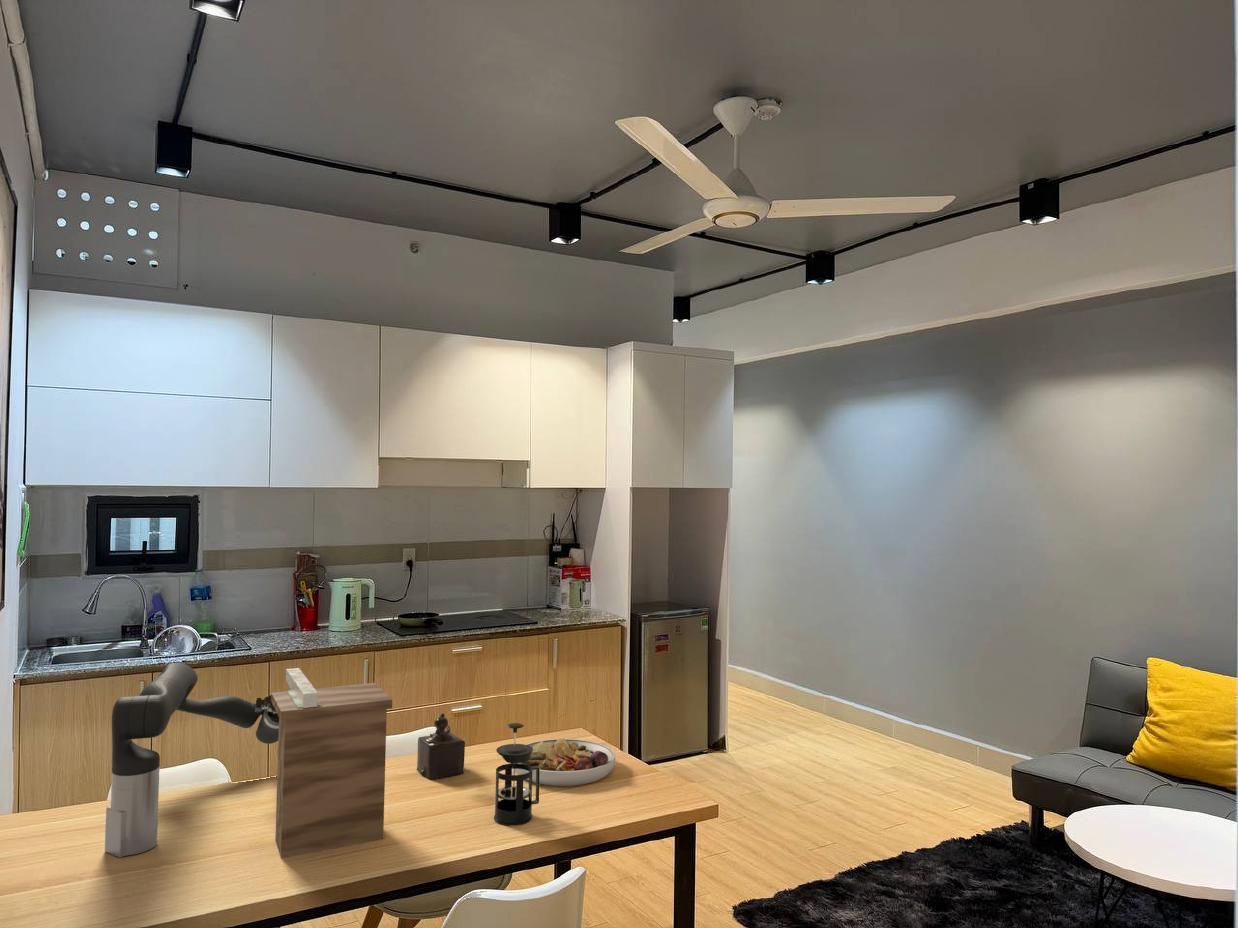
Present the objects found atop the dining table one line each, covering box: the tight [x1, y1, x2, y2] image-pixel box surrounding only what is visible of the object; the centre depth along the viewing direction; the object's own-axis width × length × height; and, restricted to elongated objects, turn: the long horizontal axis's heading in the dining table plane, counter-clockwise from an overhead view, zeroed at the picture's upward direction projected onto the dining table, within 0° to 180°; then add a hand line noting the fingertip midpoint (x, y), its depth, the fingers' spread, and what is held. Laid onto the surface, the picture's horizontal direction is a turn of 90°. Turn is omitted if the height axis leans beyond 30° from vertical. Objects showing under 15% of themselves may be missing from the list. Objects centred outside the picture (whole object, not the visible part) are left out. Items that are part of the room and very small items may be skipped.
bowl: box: [515, 737, 616, 787], centre depth 240 cm, size 30×30×8 cm
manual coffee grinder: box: [416, 712, 466, 781], centre depth 235 cm, size 16×11×18 cm
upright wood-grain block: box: [270, 682, 393, 859], centre depth 193 cm, size 18×24×32 cm
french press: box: [493, 722, 540, 827], centre depth 205 cm, size 12×9×23 cm
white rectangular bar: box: [285, 667, 318, 708], centre depth 196 cm, size 28×3×3 cm, turn 29°
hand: (287, 699), depth 219 cm, fingers open, 8 cm apart
